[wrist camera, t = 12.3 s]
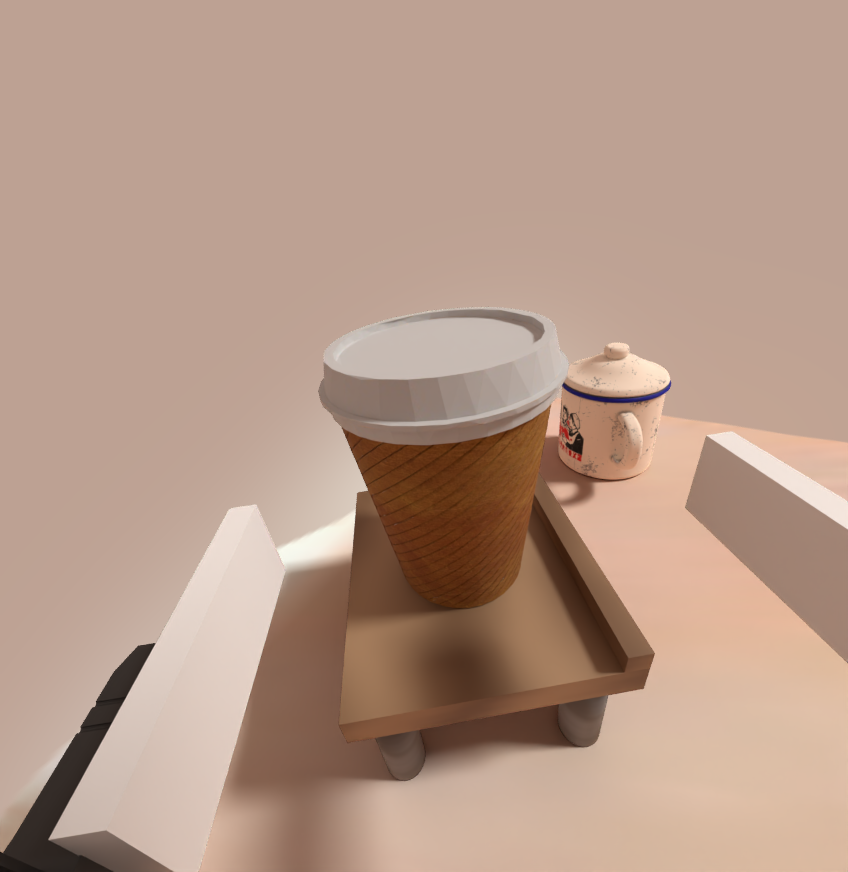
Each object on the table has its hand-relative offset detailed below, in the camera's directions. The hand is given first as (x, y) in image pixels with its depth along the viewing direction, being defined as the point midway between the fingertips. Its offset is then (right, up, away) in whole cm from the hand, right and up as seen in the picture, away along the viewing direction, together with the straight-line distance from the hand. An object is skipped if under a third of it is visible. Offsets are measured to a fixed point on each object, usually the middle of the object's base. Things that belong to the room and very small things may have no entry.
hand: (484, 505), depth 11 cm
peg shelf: (+1, -11, +13) cm, 17 cm away
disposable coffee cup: (0, -5, +9) cm, 10 cm away
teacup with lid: (+16, -1, +26) cm, 31 cm away
